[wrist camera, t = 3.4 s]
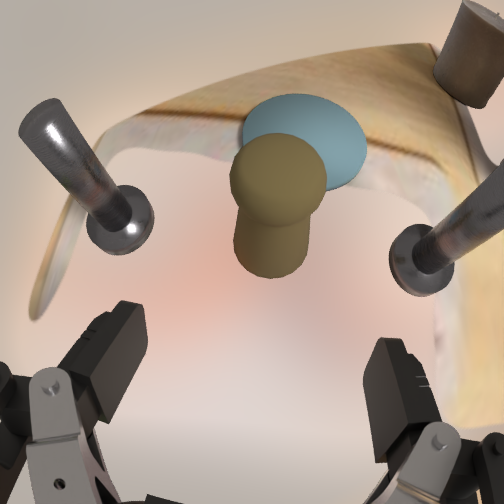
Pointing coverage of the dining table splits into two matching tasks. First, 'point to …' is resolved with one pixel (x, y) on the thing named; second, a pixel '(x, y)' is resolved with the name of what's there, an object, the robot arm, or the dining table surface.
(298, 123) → the teal mat
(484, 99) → the pillar candle
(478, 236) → the gap posts
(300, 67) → the dining table surface
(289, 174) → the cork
